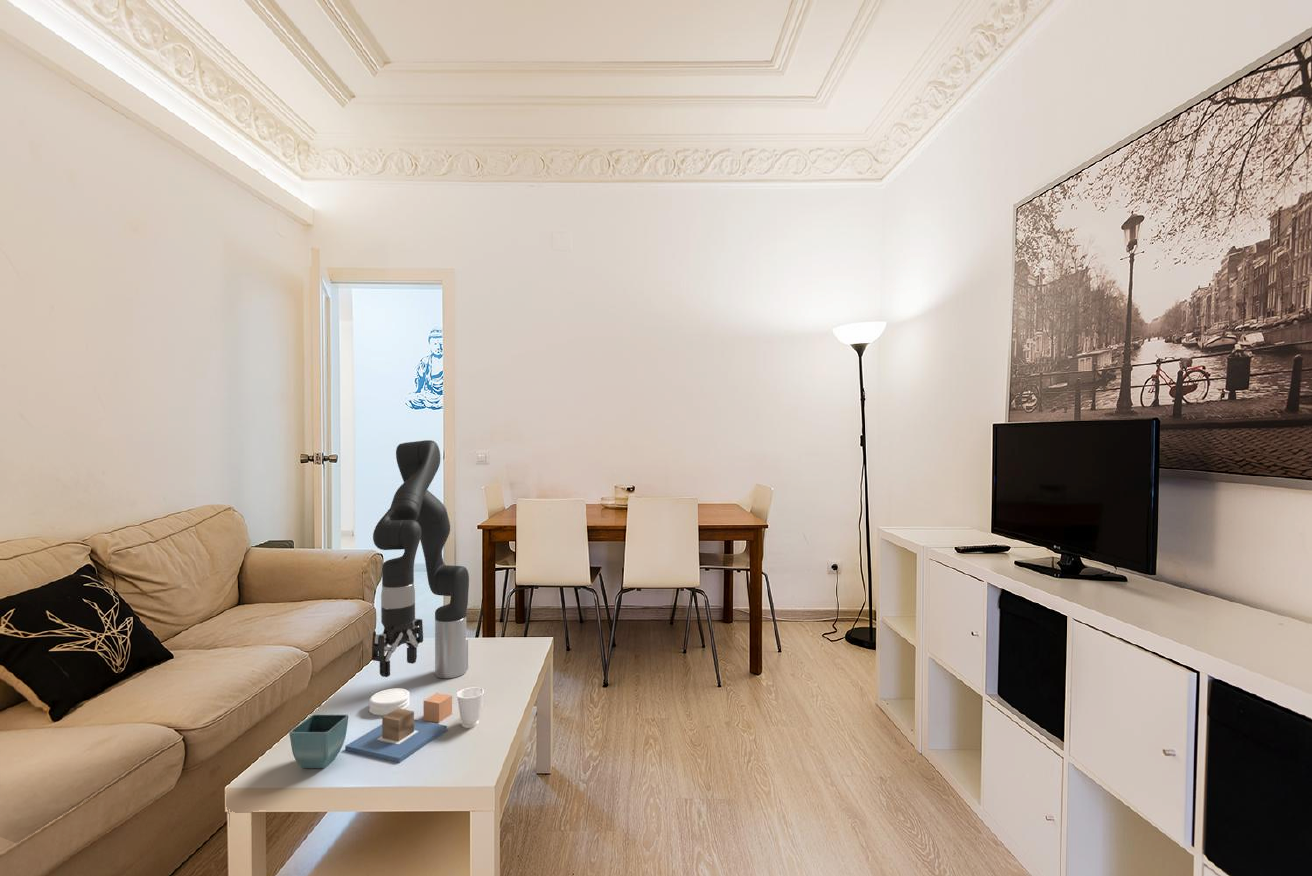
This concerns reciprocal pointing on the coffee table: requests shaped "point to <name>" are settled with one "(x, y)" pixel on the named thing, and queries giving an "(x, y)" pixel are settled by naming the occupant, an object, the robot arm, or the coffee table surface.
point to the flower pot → (318, 739)
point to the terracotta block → (437, 707)
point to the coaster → (389, 701)
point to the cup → (470, 706)
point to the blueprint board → (396, 742)
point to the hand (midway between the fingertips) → (398, 669)
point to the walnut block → (397, 724)
